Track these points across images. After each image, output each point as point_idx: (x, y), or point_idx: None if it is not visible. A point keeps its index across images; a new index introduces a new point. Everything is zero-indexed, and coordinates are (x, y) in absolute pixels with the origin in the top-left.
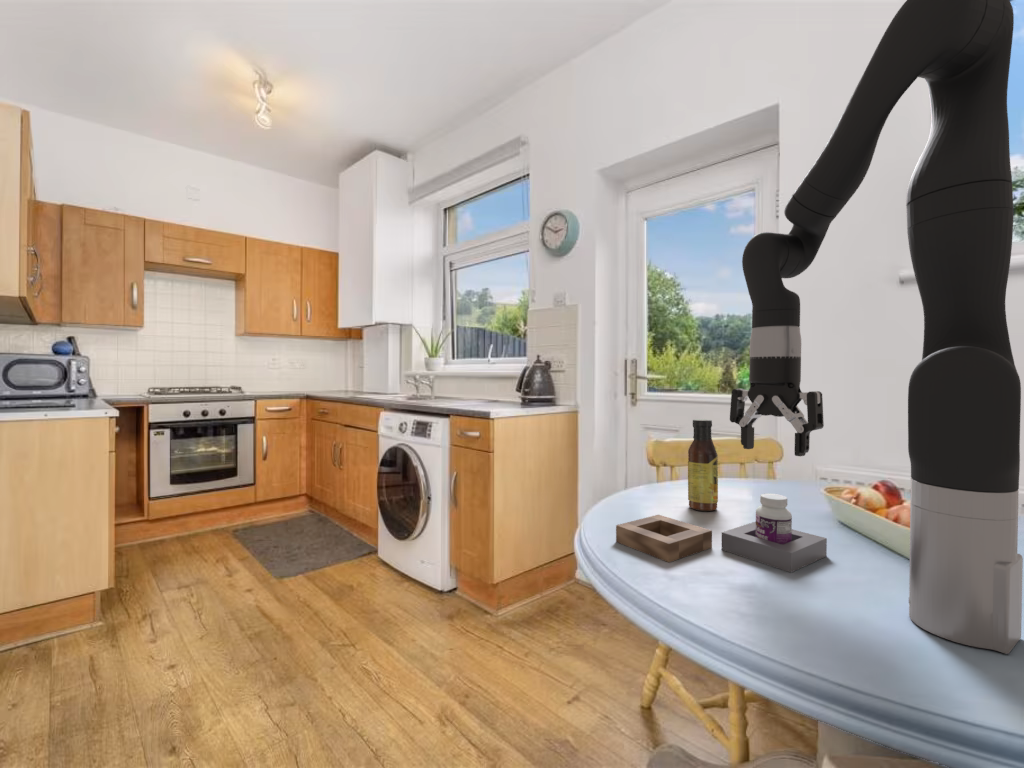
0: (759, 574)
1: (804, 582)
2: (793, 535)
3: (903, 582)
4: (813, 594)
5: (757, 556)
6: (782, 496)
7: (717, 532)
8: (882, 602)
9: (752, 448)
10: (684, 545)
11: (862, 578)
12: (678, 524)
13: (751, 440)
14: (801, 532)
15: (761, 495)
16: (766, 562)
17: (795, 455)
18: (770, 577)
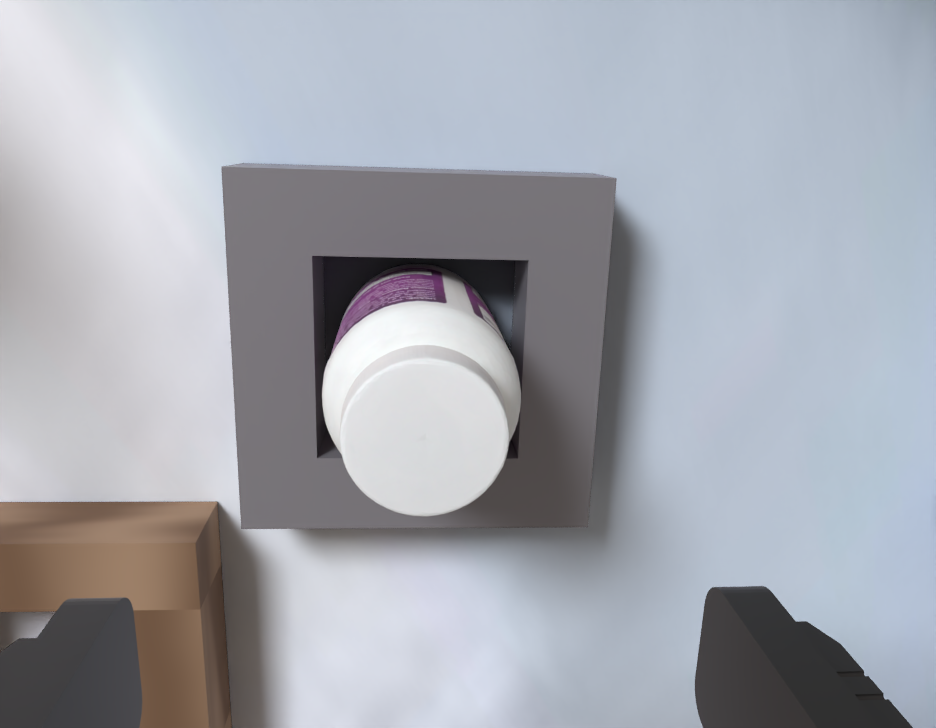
0: (501, 594)
1: (637, 532)
2: (477, 258)
3: (892, 230)
4: (693, 599)
5: None
6: (464, 396)
7: (73, 277)
8: (864, 484)
9: (133, 612)
10: (216, 711)
11: (772, 320)
12: (32, 598)
13: (92, 707)
14: (490, 189)
15: (361, 486)
16: None
17: (698, 695)
18: (539, 587)
